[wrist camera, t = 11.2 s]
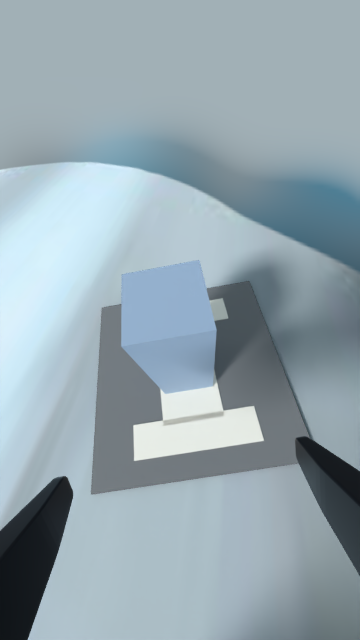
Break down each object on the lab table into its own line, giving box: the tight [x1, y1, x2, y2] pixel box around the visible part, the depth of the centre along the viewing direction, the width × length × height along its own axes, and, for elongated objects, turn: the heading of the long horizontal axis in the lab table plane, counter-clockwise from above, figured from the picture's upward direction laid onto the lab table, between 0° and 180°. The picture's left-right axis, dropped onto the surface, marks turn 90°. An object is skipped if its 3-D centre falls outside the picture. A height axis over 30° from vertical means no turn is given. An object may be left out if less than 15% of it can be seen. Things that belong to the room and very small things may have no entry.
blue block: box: [121, 260, 217, 394], centre depth 18 cm, size 5×5×13 cm
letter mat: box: [91, 281, 310, 494], centre depth 24 cm, size 20×20×1 cm
